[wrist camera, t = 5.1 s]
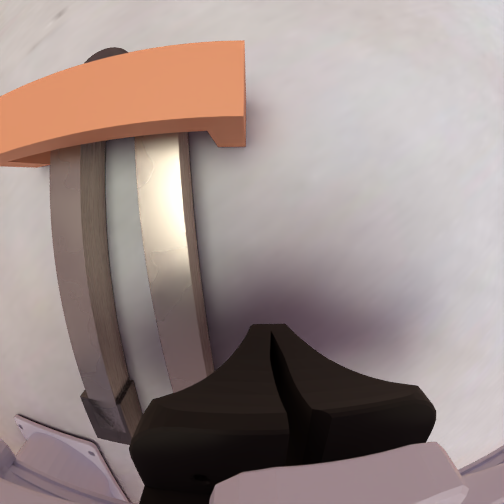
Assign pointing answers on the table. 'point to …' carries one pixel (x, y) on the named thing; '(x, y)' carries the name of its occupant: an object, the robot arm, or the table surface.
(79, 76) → the orange bridge block
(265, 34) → the table surface
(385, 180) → the table surface
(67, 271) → the base
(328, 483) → the robot arm
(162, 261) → the tong arm
